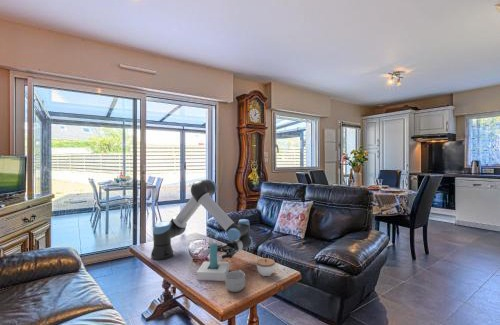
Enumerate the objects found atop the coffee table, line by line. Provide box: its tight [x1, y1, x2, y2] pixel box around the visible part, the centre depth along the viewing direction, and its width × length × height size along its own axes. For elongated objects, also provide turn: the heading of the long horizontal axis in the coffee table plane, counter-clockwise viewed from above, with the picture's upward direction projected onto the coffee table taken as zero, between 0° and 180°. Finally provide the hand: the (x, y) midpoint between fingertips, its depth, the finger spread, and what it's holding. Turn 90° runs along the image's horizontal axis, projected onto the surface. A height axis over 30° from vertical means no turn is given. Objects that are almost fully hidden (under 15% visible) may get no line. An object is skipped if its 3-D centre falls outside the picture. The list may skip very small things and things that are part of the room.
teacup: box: [224, 269, 246, 293], centre depth 145 cm, size 14×11×8 cm
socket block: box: [196, 260, 230, 282], centre depth 162 cm, size 16×16×4 cm
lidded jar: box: [256, 257, 276, 277], centre depth 161 cm, size 11×11×9 cm
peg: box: [209, 242, 218, 269], centre depth 162 cm, size 4×4×18 cm
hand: (209, 255), depth 159 cm, fingers open, 13 cm apart
